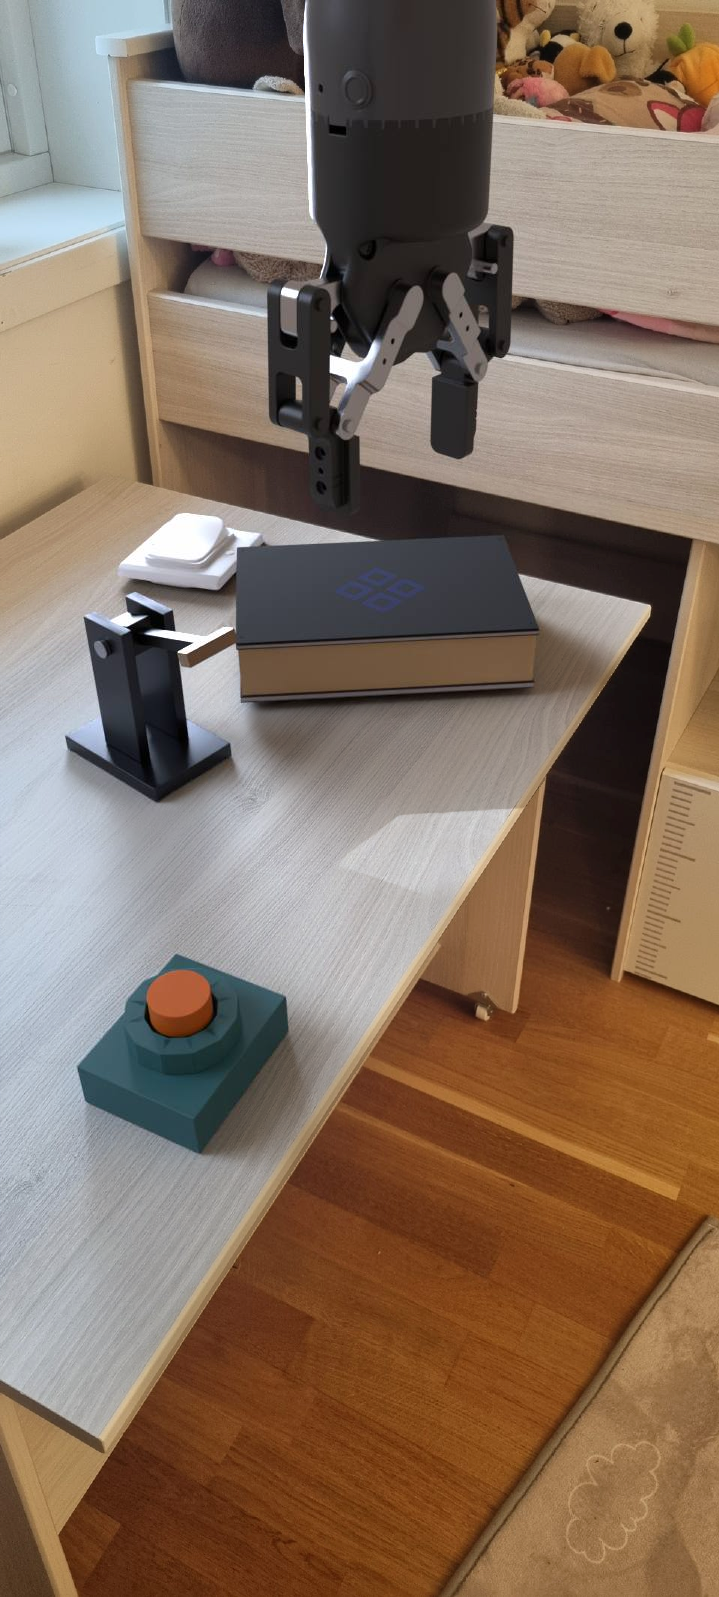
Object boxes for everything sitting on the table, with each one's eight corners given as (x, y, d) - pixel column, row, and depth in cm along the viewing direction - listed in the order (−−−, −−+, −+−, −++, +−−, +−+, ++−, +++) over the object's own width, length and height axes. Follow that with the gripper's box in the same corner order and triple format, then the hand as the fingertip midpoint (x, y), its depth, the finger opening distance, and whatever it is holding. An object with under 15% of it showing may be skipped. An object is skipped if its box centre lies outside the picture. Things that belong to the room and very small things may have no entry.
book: (241, 609, 115) (236, 546, 111) (499, 597, 116) (503, 534, 112) (241, 711, 101) (235, 643, 97) (533, 695, 103) (539, 628, 98)
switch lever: (240, 650, 86) (232, 619, 84) (193, 677, 83) (183, 645, 82) (148, 634, 93) (139, 605, 92) (101, 658, 90) (91, 629, 89)
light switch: (263, 509, 124) (216, 557, 114) (265, 546, 127) (218, 597, 117) (167, 497, 127) (113, 543, 117) (171, 534, 129) (117, 582, 119)
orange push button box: (199, 1155, 67) (190, 1098, 64) (84, 1102, 70) (70, 1045, 67) (289, 1031, 74) (285, 975, 71) (181, 988, 77) (172, 932, 73)
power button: (190, 1046, 67) (187, 1025, 66) (137, 1024, 68) (133, 1003, 67) (225, 1003, 69) (222, 982, 68) (173, 982, 71) (170, 962, 70)
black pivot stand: (231, 755, 96) (218, 616, 88) (156, 802, 92) (135, 659, 84) (142, 706, 102) (122, 571, 94) (67, 748, 97) (39, 609, 89)
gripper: (437, 66, 54) (428, 420, 64) (203, 109, 45) (236, 508, 55) (578, 81, 50) (545, 456, 60) (351, 131, 41) (357, 556, 52)
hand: (396, 481), depth 58 cm, fingers open, 8 cm apart
